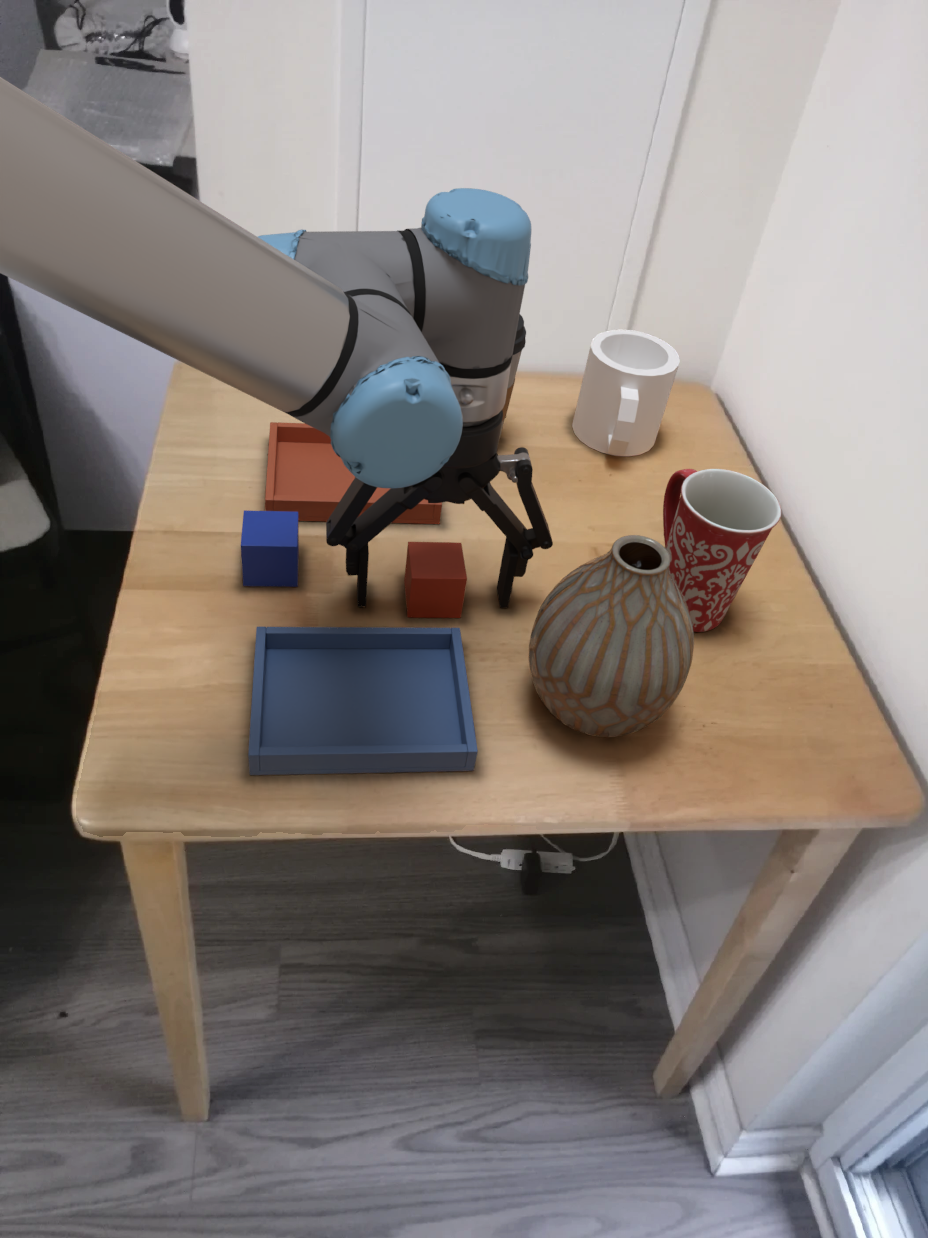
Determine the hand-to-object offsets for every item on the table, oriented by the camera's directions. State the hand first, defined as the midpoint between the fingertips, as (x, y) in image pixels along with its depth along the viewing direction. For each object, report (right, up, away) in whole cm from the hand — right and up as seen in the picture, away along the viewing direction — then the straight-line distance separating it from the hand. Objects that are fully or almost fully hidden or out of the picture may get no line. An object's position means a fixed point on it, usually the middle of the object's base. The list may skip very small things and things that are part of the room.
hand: (432, 597), depth 89 cm
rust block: (0, 0, 0) cm, 0 cm away
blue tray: (-6, -9, -10) cm, 15 cm away
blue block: (-15, +3, 0) cm, 16 cm away
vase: (+14, -10, -7) cm, 18 cm away
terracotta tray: (-9, +13, +11) cm, 19 cm away
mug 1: (+21, +20, +24) cm, 37 cm away
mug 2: (+24, 0, +5) cm, 25 cm away
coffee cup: (+4, +19, +20) cm, 28 cm away
